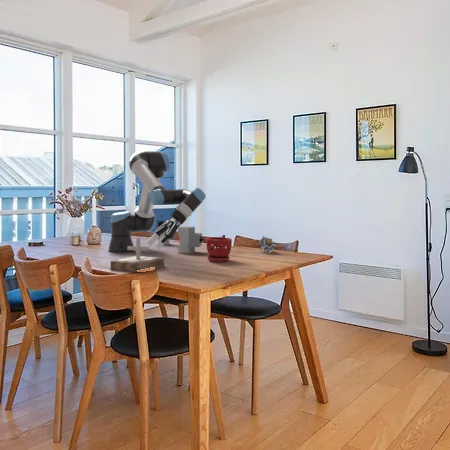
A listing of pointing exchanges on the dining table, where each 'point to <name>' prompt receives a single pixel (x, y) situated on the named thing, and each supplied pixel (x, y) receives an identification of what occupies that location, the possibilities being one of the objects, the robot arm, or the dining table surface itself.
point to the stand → (136, 263)
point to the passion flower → (266, 244)
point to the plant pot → (218, 248)
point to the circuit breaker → (189, 239)
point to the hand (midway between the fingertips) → (152, 245)
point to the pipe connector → (137, 248)
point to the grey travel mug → (162, 233)
